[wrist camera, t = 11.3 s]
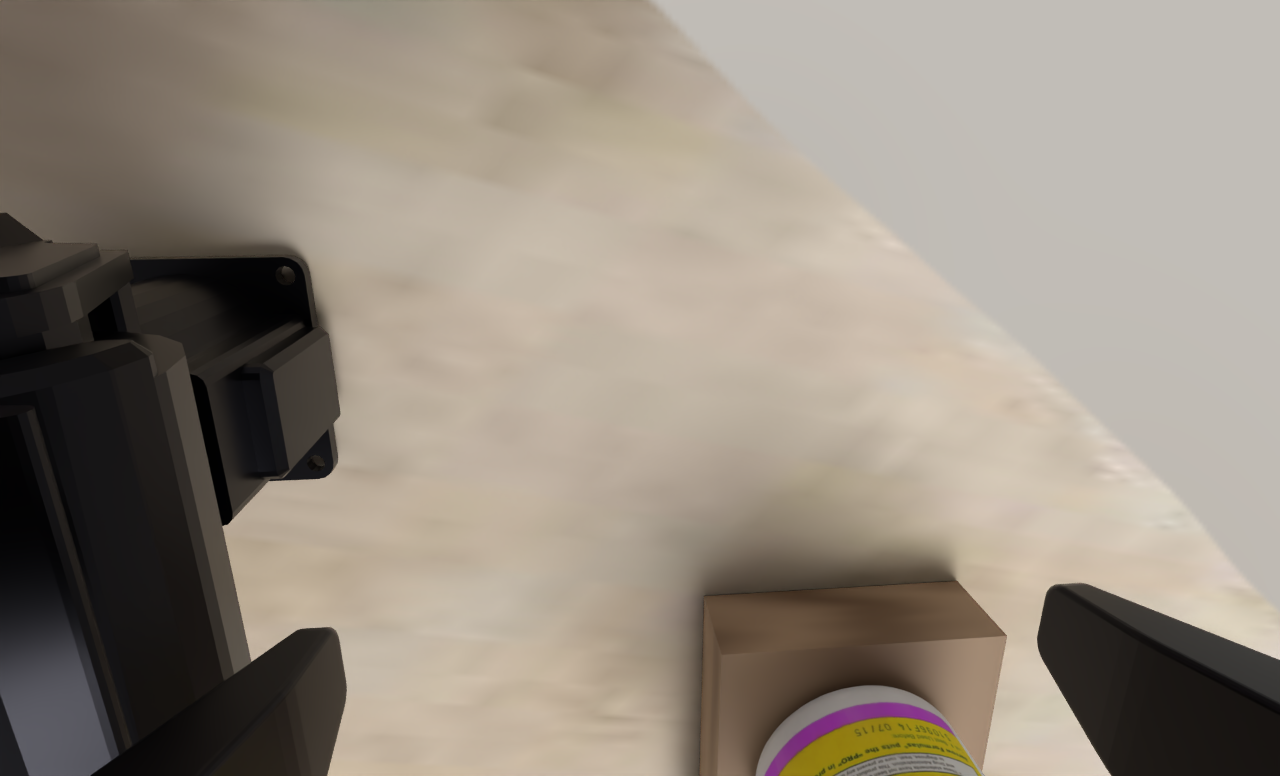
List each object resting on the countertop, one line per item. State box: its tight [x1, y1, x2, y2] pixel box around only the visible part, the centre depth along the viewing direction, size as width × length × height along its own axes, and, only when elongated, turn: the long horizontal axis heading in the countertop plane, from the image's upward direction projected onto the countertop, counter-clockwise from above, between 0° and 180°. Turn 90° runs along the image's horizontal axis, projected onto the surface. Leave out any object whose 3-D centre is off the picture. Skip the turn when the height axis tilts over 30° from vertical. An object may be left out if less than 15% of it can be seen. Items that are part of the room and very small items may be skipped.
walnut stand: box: [699, 581, 1007, 776], centre depth 24 cm, size 9×9×3 cm
